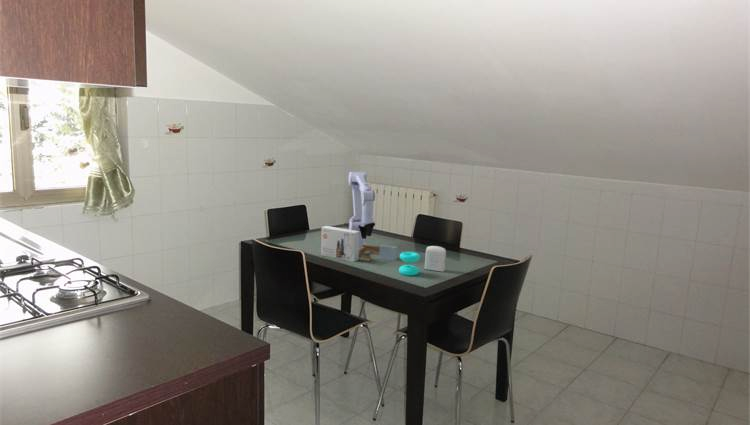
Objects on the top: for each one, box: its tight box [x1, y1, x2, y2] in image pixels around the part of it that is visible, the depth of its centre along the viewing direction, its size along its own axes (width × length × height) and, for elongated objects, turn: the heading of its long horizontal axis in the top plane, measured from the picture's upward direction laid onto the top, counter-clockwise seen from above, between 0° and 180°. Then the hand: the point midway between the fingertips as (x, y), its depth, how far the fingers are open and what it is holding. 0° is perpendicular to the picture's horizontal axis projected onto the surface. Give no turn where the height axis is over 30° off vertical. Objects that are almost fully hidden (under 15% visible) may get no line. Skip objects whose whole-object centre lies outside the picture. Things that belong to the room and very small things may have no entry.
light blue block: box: [378, 244, 398, 261], centre depth 290 cm, size 3×9×7 cm, turn 70°
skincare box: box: [320, 225, 360, 262], centre depth 287 cm, size 21×5×16 cm, turn 62°
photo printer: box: [424, 245, 447, 273], centre depth 271 cm, size 10×4×12 cm, turn 72°
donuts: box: [398, 251, 421, 277], centre depth 264 cm, size 10×10×10 cm
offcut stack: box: [360, 251, 372, 261], centre depth 286 cm, size 2×5×4 cm, turn 70°
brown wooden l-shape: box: [359, 244, 380, 257], centre depth 295 cm, size 12×14×4 cm
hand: (366, 237), depth 293 cm, fingers open, 7 cm apart
